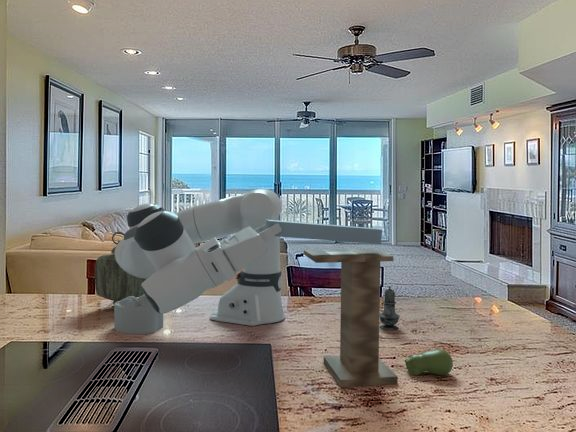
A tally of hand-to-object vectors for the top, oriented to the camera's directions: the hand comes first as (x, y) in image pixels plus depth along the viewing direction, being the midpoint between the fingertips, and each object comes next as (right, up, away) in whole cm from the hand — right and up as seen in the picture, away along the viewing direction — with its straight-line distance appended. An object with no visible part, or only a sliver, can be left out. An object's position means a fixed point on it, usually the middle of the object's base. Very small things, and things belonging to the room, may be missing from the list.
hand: (277, 225), depth 103 cm
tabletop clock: (-52, -28, +58) cm, 83 cm away
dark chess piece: (+31, -30, +39) cm, 58 cm away
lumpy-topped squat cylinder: (-40, -30, +38) cm, 63 cm away
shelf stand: (+15, -32, +5) cm, 35 cm away
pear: (+32, -32, +5) cm, 46 cm away
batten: (+9, -3, +2) cm, 10 cm away
